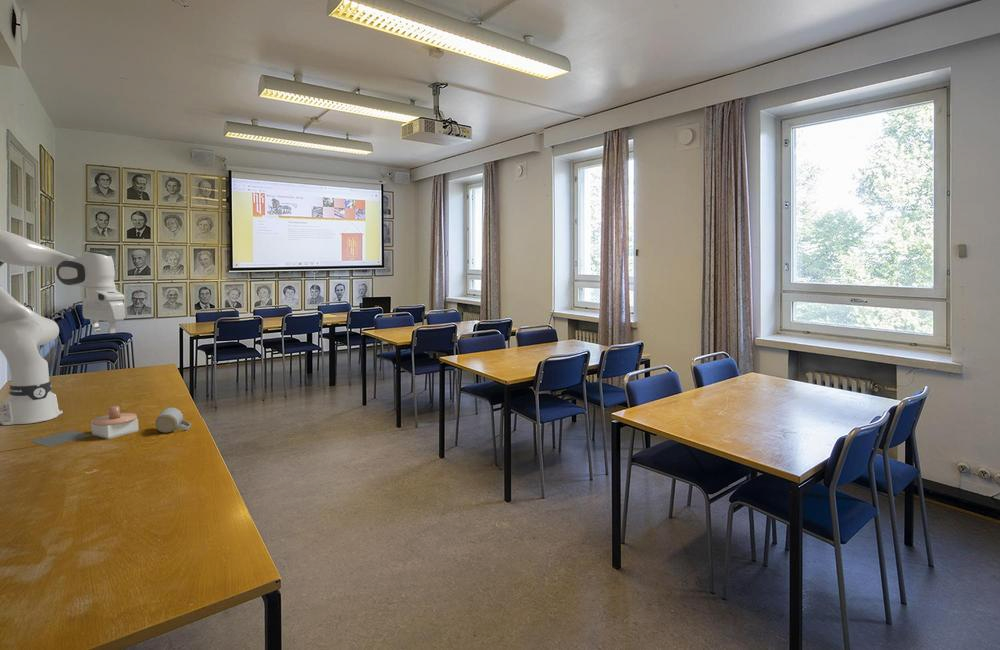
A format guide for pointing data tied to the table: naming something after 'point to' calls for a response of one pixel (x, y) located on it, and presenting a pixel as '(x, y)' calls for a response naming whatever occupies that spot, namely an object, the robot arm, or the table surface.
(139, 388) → the table surface
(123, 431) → the dish
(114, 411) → the lid
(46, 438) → the mat
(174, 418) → the ceramic mug
